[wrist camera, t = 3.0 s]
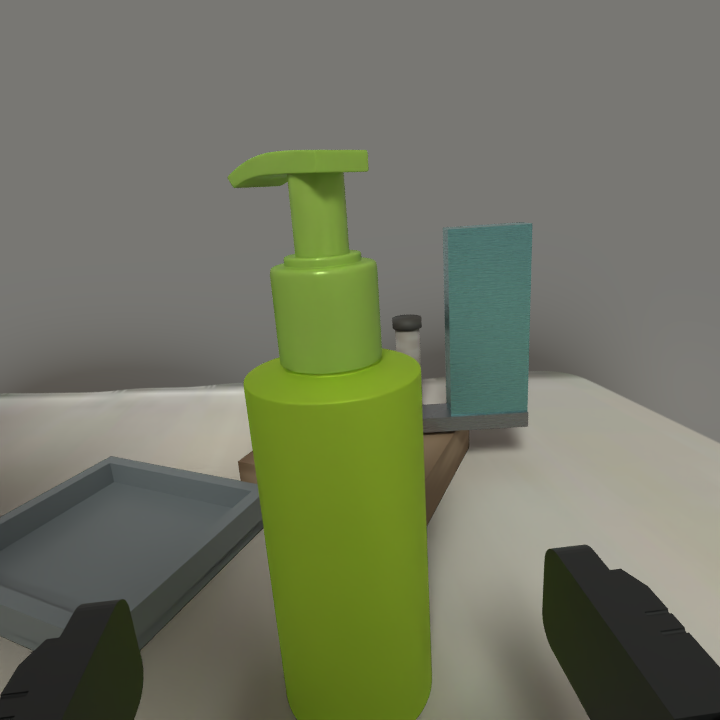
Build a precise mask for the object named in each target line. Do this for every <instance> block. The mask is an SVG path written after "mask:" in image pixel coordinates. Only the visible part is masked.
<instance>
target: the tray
mask: <svg viewBox="0 0 720 720" xmlns="http://www.w3.org/2000/svg"><path fill="white" fill-rule="evenodd" d="M262 528H263V520H262V513H261V506H260V499H259V492H258V484H254V483H248V482H243V481H238V480H233V479H228V478H222V477H217V476H212V475H207V474H201V473H196V472H191V471H186V470H180V469H175V468H170V467H165V466H160V465H154V464H149V463H144V462H139V461H133V460H128V459H123V458H118V457H112V456H110V457H109V458H107V459H105V460H103V461H101V462H100V463H98V464H96V465H94V466H92V467H90V468H89V469H87V470H85V471H83V472H81V473H80V474H78V475H76V476H74V477H72V478H70V479H69V480H67V481H65V482H63V483H61V484H59V485H58V486H56V487H54V488H52V489H50V490H49V491H47V492H45V493H43V494H41V495H39V496H38V497H36V498H34V499H32V500H30V501H28V502H27V503H25V504H23V505H21V506H19V507H18V508H16V509H14V510H12V511H10V512H8V513H7V514H5V515H3V516H1V517H0V636H2V637H4V638H6V639H8V640H11V641H13V642H15V643H18V644H20V645H22V646H24V647H27V648H29V649H31V650H33V651H34V650H35V649H36V648H37V647H39V646H40V645H41V644H42V643H43V642H44V641H45V640H46V639H51V638H59V637H60V635H61V634H62V632H63V630H64V628H65V627H66V625H67V623H68V621H69V620H70V618H71V616H72V614H73V613H74V611H75V609H76V608H77V607H78V606H79V605H81V604H86V603H94V602H102V601H111V600H119V599H124V600H126V602H127V603H128V605H129V608H130V612H131V617H132V621H133V625H134V629H135V634H136V638H137V642H138V646H139V650H141V649H142V648H143V647H144V646H145V645H146V644H147V643H148V642H149V641H150V640H151V639H152V638H153V637H154V636H155V635H156V634H157V633H158V632H159V631H160V630H161V629H162V628H163V627H164V626H165V625H166V624H167V623H168V622H169V621H170V620H171V619H172V618H173V617H174V616H175V615H176V614H177V613H178V612H179V611H180V610H181V609H182V608H183V607H184V606H185V605H186V604H187V603H188V602H189V601H190V600H191V599H192V598H193V597H194V596H195V595H196V594H197V593H198V592H199V591H200V590H201V589H202V588H203V587H204V586H205V585H206V584H207V583H208V582H209V581H210V580H211V579H212V578H213V577H214V576H215V575H216V574H217V573H218V572H219V571H220V570H221V569H222V568H223V567H224V566H225V565H226V564H227V563H228V562H229V561H230V560H231V559H232V558H233V557H234V556H235V555H236V554H237V553H238V552H239V551H240V550H241V549H242V548H243V547H244V546H245V545H246V544H247V543H248V542H249V541H250V540H251V539H252V538H253V537H254V536H255V535H256V534H257V533H258V532H259V531H260V530H261V529H262Z"/></svg>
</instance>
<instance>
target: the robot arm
mask: <svg viewBox="0 0 720 720" xmlns="http://www.w3.org/2000/svg"><path fill="white" fill-rule="evenodd" d="M542 616H543V624H544V629H545V633H546V636H547V639H548V642H549V644H550V647H551V649H552V651H553V652H554V654H555V656H556V658H557V660H558V662H559V663H560V665H561V667H562V669H563V671H564V673H565V674H566V676H567V678H568V680H569V682H570V683H571V685H572V687H573V689H574V691H575V693H576V694H577V696H578V698H579V700H580V702H581V704H582V705H583V707H584V709H585V711H586V713H587V715H588V716H589V718H590V720H720V667H719V666H718V665H717V664H716V662H715V661H714V660H713V659H712V658H711V657H710V656H709V655H708V653H707V652H706V651H705V650H704V649H703V648H702V647H701V646H700V644H699V643H698V642H697V641H696V640H695V639H694V638H693V637H692V635H691V634H690V633H686V631H685V628H684V626H683V625H682V624H681V623H680V622H679V621H678V620H677V619H676V617H675V616H674V615H673V614H672V613H669V612H668V608H667V607H666V606H665V605H664V604H663V603H662V602H661V600H660V599H659V598H658V597H657V596H656V595H655V594H654V593H653V591H652V590H651V589H650V588H649V587H648V586H647V585H645V584H643V583H642V582H640V581H639V580H637V579H636V578H634V577H633V576H631V575H630V574H628V573H627V572H625V571H623V570H622V569H616V570H609V569H608V567H607V566H606V565H605V564H604V563H603V561H602V560H601V559H600V558H599V556H598V555H597V554H596V553H595V552H594V550H593V549H592V548H591V547H589V546H588V545H578V546H569V547H561V548H553V549H548V550H547V551H546V554H545V562H544V585H543V607H542ZM142 688H143V664H142V659H141V655H140V650H139V646H138V642H137V638H136V634H135V629H134V625H133V621H132V617H131V612H130V608H129V605H128V603H127V602H126V600H124V599H119V600H111V601H102V602H94V603H86V604H81V605H79V606H78V607H77V608H76V609H75V611H74V613H73V614H72V616H71V618H70V620H69V621H68V623H67V625H66V627H65V628H64V630H63V632H62V634H61V635H60V637H59V638H51V639H46V640H45V641H44V642H43V643H42V644H41V645H40V646H39V647H37V648H36V649H35V650H34V651H33V652H32V653H31V654H30V655H29V656H28V657H27V658H26V659H25V660H24V661H23V662H22V663H21V664H20V665H19V666H18V667H17V669H16V671H15V672H14V674H13V675H12V677H11V679H10V680H9V682H8V684H7V685H6V687H5V688H4V690H3V692H2V693H1V698H0V720H134V718H135V715H136V712H137V709H138V706H139V703H140V699H141V694H142Z"/></svg>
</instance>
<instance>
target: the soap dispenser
mask: <svg viewBox="0 0 720 720" xmlns="http://www.w3.org/2000/svg"><path fill="white" fill-rule="evenodd" d="M367 171H368V154H367V150H290V151H277V152H270V153H265V154H261V155H258V156H256V157H254V158H251V159H249V160H247V161H246V162H244V163H243V164H241V165H240V166H239V167H237V168H236V169H235V170H234V171H233V172H232V173H231V174H230V175H229V176H228V179H229V181H230V183H231V185H232V186H233V187H234V188H247V187H269V186H281V185H283V184H285V183H286V182H288V188H289V198H290V208H291V218H292V228H293V237H294V247H295V254H292V255H288V256H286V257H284V264H280V265H277V266H274V267H273V268H271V271H270V278H271V287H272V295H273V304H274V313H275V322H276V330H277V338H278V347H279V356H280V357H279V358H276V359H273V360H271V361H268V362H266V363H264V364H261V365H260V366H258V367H256V368H255V369H253V370H252V371H251V372H249V373H248V375H247V376H246V377H245V379H244V391H245V398H246V406H247V413H248V420H249V427H250V434H251V441H252V449H253V456H254V463H255V470H256V477H257V484H258V492H259V499H260V506H261V513H262V520H263V527H264V535H265V542H266V549H267V556H268V563H269V570H270V578H271V585H272V592H273V599H274V606H275V614H276V621H277V628H278V635H279V642H280V649H281V657H282V664H283V671H284V678H285V685H286V692H287V698H288V702H289V705H290V708H291V710H292V712H293V714H294V715H295V717H296V718H297V720H416V719H417V717H418V716H419V715H420V713H421V712H422V710H423V709H424V707H425V705H426V703H427V700H428V698H429V694H430V690H431V684H432V669H431V641H430V612H429V584H428V556H427V528H426V500H425V471H424V443H423V415H422V387H421V367H420V365H419V363H418V362H417V361H416V360H415V359H414V358H412V357H410V356H408V355H406V354H403V353H400V352H397V351H392V350H388V349H382V346H381V345H382V344H381V327H380V312H379V311H380V310H379V294H378V293H379V292H378V277H377V276H378V275H377V265H376V262H375V261H374V260H372V259H369V258H362V257H361V252H360V251H357V250H349V243H348V228H347V214H346V200H345V186H344V175H343V174H344V173H343V172H367Z"/></svg>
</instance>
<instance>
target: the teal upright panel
mask: <svg viewBox="0 0 720 720" xmlns="http://www.w3.org/2000/svg"><path fill="white" fill-rule="evenodd" d="M531 254H532V224H531V223H524V222H519V223H504V224H491V225H475V226H460V227H446V228H443V255H444V299H445V300H444V303H445V348H446V349H445V351H446V400H447V403H446V404H430V405H422V415H423V433H426V432H443V431H460V430H477V429H494V428H511V427H528V412H527V403H528V366H529V329H530V327H529V326H530V292H531V290H530V289H531Z"/></svg>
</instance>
